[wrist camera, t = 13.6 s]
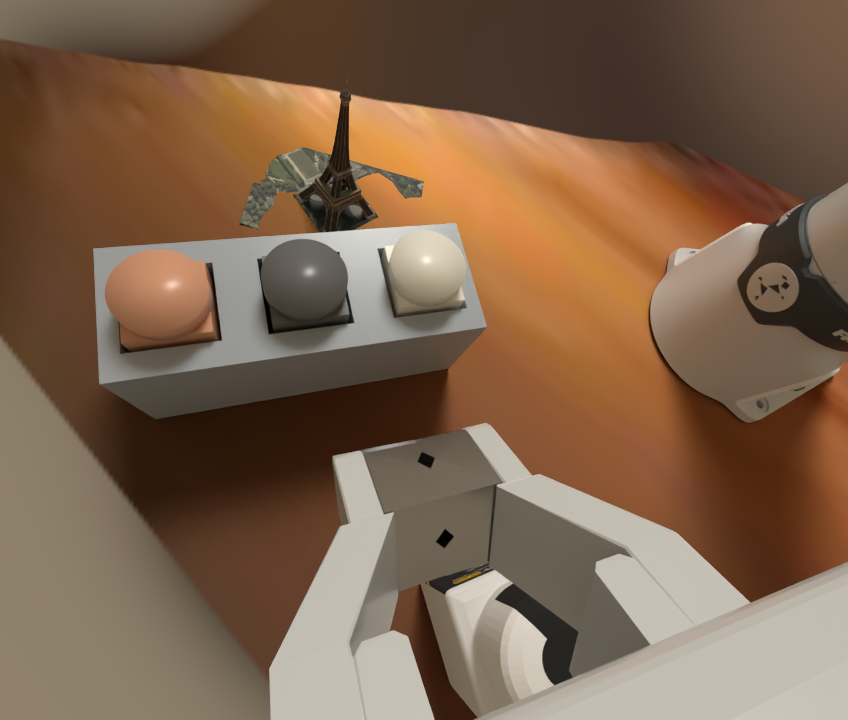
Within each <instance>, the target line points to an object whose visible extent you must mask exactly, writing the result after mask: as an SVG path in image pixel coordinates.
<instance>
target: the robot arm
mask: <svg viewBox="0 0 848 720" xmlns="http://www.w3.org/2000/svg"><path fill="white" fill-rule="evenodd" d="M650 318H651V325H652V330H653V334H654V337H655V340H656V342H657V344H658V347H659V349H660V351H661V353H662V354H663V356H664V358H665V359H666V361H667V362H668V364H669V365H670V366H671V368H672V369H673V370H674V371H675V372H676V373H677V374H678V375H679V376H680V377H681V378H682V379H683V380H684V381H685V382H686V383H687V384H689V385H690V386H691V387H693V388H694V389H695V390H697V391H699V392H700V393H702V394H704V395H706V396H709V397H711V398H713V399H715V400H717V401H719V402H721V403H723V404H724V405H725V406H726V407H727V408H728V409H729V410H730V411H731V412H732V413H734V414H735V415H736V416H737V417H738V418H739V419H741V420H742V421H744V422H747V423H752V422H755V421H758V420H760V419H762V418H764V417H766V416H767V415H769V414H771V413H772V412H774V411H775V410H777V409H779V408H780V407H782V406H784V405H785V404H787V403H789V402H790V401H792V400H794V399H795V398H797V397H799V396H800V395H802V394H804V393H805V392H807V391H809V390H810V389H812V388H813V387H815V386H817V385H818V384H820V383H822V382H823V381H825V380H827V379H828V378H830V377H832V376H833V375H835V374H836V373H838V372H839V370H840V367H841V366H842V365H843V364H845V363H846V362H847V361H848V183H847V184H845V185H844V186H842V187H841V188H839V189H838V190H836V191H834V192H833V193H831V194H825V195H820V196H817V197H815V198H813V199H811V200H809V201H808V202H806V203H803V204H800V205H798V206H797V207H795V208H793V209H792V210H790V211H788V212H787V213H785V214H784V215H783V217H781V218H780V219H778V220H776V221H775V222H773V223H772V224H770V225H769V226H768V225H764V224H752V223H746V224H743V225H741V226H739V227H737V228H736V229H734V230H732V231H731V232H729V233H727V234H726V235H724V236H722V237H721V238H719V239H717V240H715V241H714V242H712V243H710V244H709V245H707V246H705V247H704V248H702V249H700V250H699V249H690V248H679V249H678V250H676V251H674V252H672V253H671V254H670V256H669V259H668V265H667V272H666V275H665V276H664V278H663V279H662V280H661V282H660V283H659V284H658V286H657V287H656V289H655V291H654V293H653V296H652V300H651V306H650ZM332 464H333V472H334V481H335V489H336V497H337V505H338V511H339V518H340V524H341V526H340V527H339V529H338V531H337V533H336V535H335V537H334V539H333V542H332V544H331V546H330V548H329V550H328V552H327V554H326V556H325V558H324V560H323V562H322V564H321V566H320V568H319V570H318V572H317V574H316V576H315V578H314V580H313V582H312V584H311V586H310V588H309V590H308V592H307V594H306V596H305V598H304V600H303V602H302V604H301V606H300V608H299V610H298V612H297V614H296V616H295V618H294V620H293V622H292V624H291V626H290V628H289V630H288V632H287V634H286V636H285V638H284V641H283V643H282V645H281V647H280V649H279V651H278V653H277V655H276V657H275V659H274V661H273V663H272V665H271V667H270V669H269V672H270V706H271V720H434V717H433V713H432V710H431V707H430V704H429V701H428V698H427V695H426V692H425V689H424V685H423V682H422V679H421V676H420V673H419V670H418V667H417V664H416V661H415V658H414V654H413V651H412V648H411V645H410V642H409V639H408V636H406V635H403V634H401V633H399V632H396V631H394V630H393V631H390V627H391V623H392V619H393V615H394V611H395V607H396V603H397V599H398V592H399V591H402V590H405V589H408V588H411V587H413V586H416V585H419V584H422V583H425V582H428V581H431V580H434V579H436V578H439V577H442V576H446V575H449V574H453V573H456V572H460V571H463V570H467V569H470V568H474V567H477V566H481V565H484V564H488V563H489V566H490V567H492V568H493V569H494V570H496V571H497V572H498V573H500V574H501V575H502V576H504V577H505V578H506V579H508V580H509V581H511V582H512V583H513V584H515V585H516V586H517V587H519V588H520V589H521V590H523V591H524V592H525V593H527V594H528V595H529V596H531V597H532V598H534V599H535V600H536V601H538V602H539V603H540V604H542V605H543V606H544V607H546V608H547V609H548V610H550V611H551V612H552V613H554V614H555V615H557V616H558V617H559V618H561V619H562V620H563V621H565V622H566V623H567V624H569V625H570V626H571V627H573V628H574V629H575V630H577V631H578V636H577V640H576V644H575V648H574V652H573V656H572V660H571V664H570V668H569V671H570V673H571V675H572V677H573V678H571V679H568V680H566V681H564V682H561V683H559V684H557V685H554V686H552V687H550V688H547V689H545V690H542V691H540V692H538V693H535V694H533V695H531V696H528V697H526V698H524V699H521V700H519V701H516V702H514V703H512V704H509V705H507V706H505V707H502V708H500V709H497V710H495V711H493V712H490V713H488V714H486V715H483V716H481V717H479V718H476V719H474V720H848V562H846V563H843V564H841V565H839V566H836V567H834V568H832V569H829V570H827V571H824V572H822V573H820V574H817V575H815V576H813V577H810V578H808V579H805V580H803V581H801V582H798V583H796V584H794V585H791V586H789V587H786V588H784V589H782V590H779V591H777V592H775V593H772V594H770V595H768V596H765V597H763V598H760V599H758V600H756V601H753V602H751V603H750V602H749V601H748V600H747V599H746V598H745V597H744V596H743V595H742V594H741V593H740V592H739V591H738V590H737V589H735V588H734V587H733V586H732V585H731V584H730V583H729V582H728V581H727V580H726V579H725V578H724V577H723V576H722V575H721V574H720V573H719V572H718V571H717V570H715V569H714V568H713V567H712V566H711V565H710V564H709V563H708V562H707V561H706V560H705V559H704V558H703V557H702V556H701V555H700V554H699V553H698V552H697V551H695V550H694V549H693V548H692V547H691V546H690V545H689V544H688V543H687V542H686V541H685V540H684V539H683V538H682V537H681V536H680V535H679V534H678V533H677V532H674V531H672V530H670V529H667V528H665V527H662V526H660V525H658V524H655V523H653V522H651V521H648V520H646V519H644V518H641V517H639V516H637V515H634V514H632V513H630V512H627V511H625V510H623V509H620V508H618V507H616V506H613V505H611V504H609V503H606V502H604V501H602V500H599V499H597V498H595V497H592V496H590V495H588V494H585V493H583V492H580V491H578V490H576V489H573V488H571V487H569V486H566V485H564V484H562V483H559V482H557V481H555V480H552V479H550V478H548V477H545V476H543V475H541V474H538V475H534V476H532V475H531V474H530V472H529V471H528V470H527V469H526V468H525V466H524V465H523V464H522V463H521V461H520V460H519V459H518V458H517V457H516V455H515V454H514V453H513V452H512V451H511V449H510V448H509V447H508V446H507V445H506V443H505V442H504V441H503V440H502V439H501V437H500V436H499V435H498V434H497V432H496V431H495V430H494V429H493V428H492V426H491V425H489V424H487V423H483V424H479V425H475V426H471V427H467V428H462V429H461V430H457V431H452V432H448V433H443V434H439V435H434V436H430V437H425V438H421V439H416V440H410V441H405V442H400V443H395V444H390V445H384V446H379V447H374V448H369V449H364V450H361V451H355V452H350V453H345V454H340V455H335V456H333V457H332ZM389 631H390V632H389Z"/></svg>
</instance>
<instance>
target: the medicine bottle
mask: <svg viewBox="0 0 848 720" xmlns="http://www.w3.org/2000/svg"><path fill="white" fill-rule="evenodd" d="M421 588H422V591H423V594H424V598H425V601H426V604H427V608H428V611H429V615H430V618H431V621H432V625H433V628H434V632H435V635H436V638H437V642H438V645H439V648H440V652H441V655H442V659H443V662H444V665H445V669H446V672H447V676H448V679H449V682H450V684H451V686H452V687H453V688H454V690H455V691H456V692H457V693H458V695H459V696H460V697H461V698H462V699H463V701H464V702H465V703H466V704H467V705H468V707H469V708H470V709H471V710H472V711H473V713H474V714H475V715H476V716H477V717H478V718H479V717H481V716H483V715H486V714H488V713H490V712H493V711H495V710H497V709H500V708H502V707H505V706H507V705H509V704H512V703H514V702H516V701H519V700H521V699H524V698H526V697H528V696H531V695H533V694H535V693H538V692H540V691H542V690H545V689H547V688H550V687H552V686H554V685H557V684H559V683H561V682H564V681H566V680H568V679H571V678H573V677H572V675H571V673H570V671H569V668H570V664H571V660H572V656H573V652H574V648H575V644H576V640H577V636H578V631H577V630H575V629H574V628H573V627H571V626H570V625H569V624H567V623H566V622H565V621H563V620H562V619H561V618H559V617H558V616H557V615H555V614H554V613H552V612H551V611H550V610H548V609H547V608H546V607H544V606H543V605H542V604H540V603H539V602H538V601H536V600H535V599H534V598H532V597H531V596H529V595H528V594H527V593H525V592H524V591H523V590H521V589H520V588H519V587H517V586H516V585H515V584H513V583H512V582H511V581H509V580H508V579H506V578H505V577H504V576H502V575H501V574H500V573H498V572H497V571H496V570H494V569H493V568H492V567H490V566H489V563H488V564H484V565H481V566H477V567H474V568H470V569H467V570H463V571H460V572H456V573H453V574H449V575H446V576H442V577H439V578H436V579H434V580H431V581H428V582H425V583H422V584H421Z"/></svg>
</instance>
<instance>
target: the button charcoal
mask: <svg viewBox="0 0 848 720" xmlns="http://www.w3.org/2000/svg"><path fill="white" fill-rule="evenodd" d="M262 262H263V264H262V268H261V281H262V286H263V291H264V295H265V297H266V300H267V301H268V303H269V306H270V312H271V318H272V324H273V329H274V334H276V333H283V332H291V331H298V330H306V329H313V328H321V327H329V326H336V325H344V324H348V320H349V315H350V314H349V309H348V304H347V300H346V291H347V284H348V272H347V268H346V265H345V263H344V261H343V260H342V258H341V257H340V256H339V254H338V253H337V252H336V250H333V249H332V248H331V247H329V246H327V245H326V244H324V243H321V242H319V241H315V240H311V239H294V240H290V241H286V242H284V243H282V244H280V245H278V246H276V247H275V248H274V249H273V250H271V251H270V252H269V254H268V255H267V256H262Z"/></svg>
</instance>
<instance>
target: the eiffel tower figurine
mask: <svg viewBox="0 0 848 720" xmlns="http://www.w3.org/2000/svg"><path fill="white" fill-rule="evenodd" d="M347 79H348V77H347ZM347 79H346V89H345V90H344V91H342V92H341V93H340V99H341V105H340V112H339V118H338V124H337V130H336V136H335V142H334V146H333V151H332V155H329V154H326V153H322V152H319V151H315V150H311V149H308V148H300V149H297V150H294V151H291V152H289V153H286V154H282V155H278V156H277V157H276V158H275V159H274V160H272V161H271V163H270V164H269V169H268V170H267V171H266V172H265V173H266V177H267V179H265V180H261V184H258V183H253V186H252V189H251V191H250V194H249V197H248V200H247V203H246V206H245V209H244V212H243V215H242V218H241V221H240V223H242V224H245V225H247V226H250V227H253V228H256V229H258V226H259V222H260V219H261V218H262V216H263V215H264V213H265V212H266V211H268V209H269V208H270V207H271V206H272V205H273V204H274V196H275V195H277V194H278V192H279V191H283V192H287V193H288V192H298V191H301V192H299V193H296V194H294V195H293V196H294V198H295V199H296V200H297V202H298V203H299V204H300V206H301V207H302V208H303V210H304V211H305V212H306V214H307V215H308V216H309V218H310V219H311V221H312V222H313V223H314V225H315V226H316V227H317V229H318V230H319V231H320V233H323V232H337V231H351V230H354V229H355V228H357V227H359V226H361V225H363V224H365V223H367V222H369V221H371V220H373V219H375V218H377V217H378V216H377V214H376V213H375V212H374V211H373V209H372V208H371V207H370V205H369V204H368V203H367V202H366V200H365V199H364V198H363V197H362V195H361V189H360V188H359V186H358V185H357V184H356V183H355V181H356V180H358V179H360V178H362V177H364V176H367V175H370V174H373V173H380V174H381V175H383V176H385V177H386V178H388V179H389V180H391V181H392V182H393V183H394V185H395V186H396V187H397V189H398V190H399V192H400V193H401V194H402V195H403V196H404V198H405V199H406V198H410V197H421V196H422V190H423V183H424V182H423V181H420V180H417V179H413V178H410V177H406V176H403V175H399V174H395V173H392V172H388V171H385V170H381V169H378V168H374V167H371V166H368V165H364V164H361V163H357V162H354V161H350V160H349V102H350V101H351V95H350V93H349V92H348V90H347Z"/></svg>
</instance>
